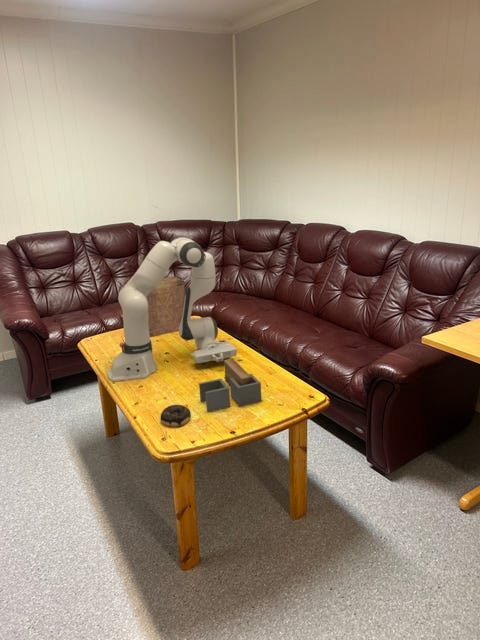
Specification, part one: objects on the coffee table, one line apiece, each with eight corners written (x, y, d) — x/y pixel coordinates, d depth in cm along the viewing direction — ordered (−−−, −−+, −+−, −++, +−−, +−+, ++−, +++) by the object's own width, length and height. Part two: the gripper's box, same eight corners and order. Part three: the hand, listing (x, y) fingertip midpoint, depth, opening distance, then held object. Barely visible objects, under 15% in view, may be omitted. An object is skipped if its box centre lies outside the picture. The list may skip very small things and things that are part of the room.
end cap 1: (230, 406, 175) (229, 388, 173) (207, 412, 172) (206, 393, 170) (222, 396, 184) (220, 378, 181) (200, 401, 181) (198, 383, 178)
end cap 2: (239, 406, 175) (238, 387, 172) (230, 396, 183) (229, 378, 181) (261, 401, 178) (260, 382, 176) (252, 391, 186) (251, 373, 184)
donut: (158, 428, 163) (157, 418, 162) (164, 411, 175) (163, 402, 173) (188, 427, 163) (188, 418, 162) (193, 411, 174) (192, 401, 173)
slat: (242, 401, 179) (241, 378, 176) (225, 381, 197) (224, 360, 194) (251, 399, 180) (251, 376, 177) (234, 379, 198) (232, 358, 195)
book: (146, 338, 252) (139, 285, 242) (140, 333, 260) (134, 282, 250) (188, 329, 264) (183, 278, 254) (182, 324, 271) (177, 275, 262)
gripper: (189, 347, 213) (197, 357, 200) (230, 339, 219) (240, 349, 207) (190, 359, 215) (198, 370, 202) (230, 351, 221) (241, 362, 209)
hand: (220, 359), depth 205 cm, fingers closed
